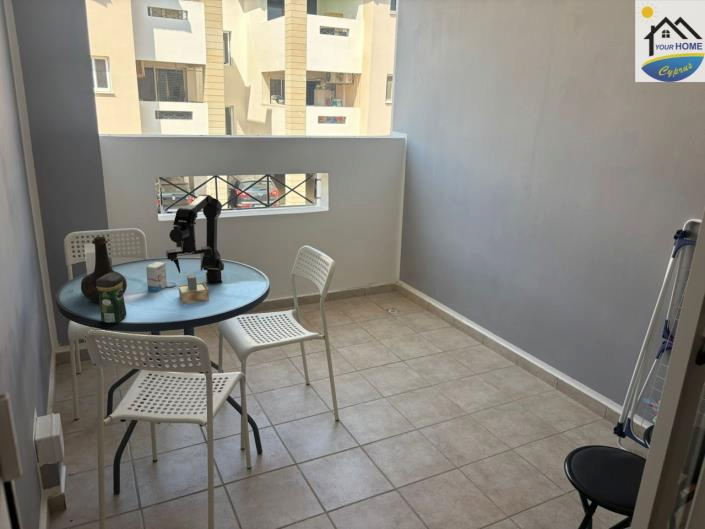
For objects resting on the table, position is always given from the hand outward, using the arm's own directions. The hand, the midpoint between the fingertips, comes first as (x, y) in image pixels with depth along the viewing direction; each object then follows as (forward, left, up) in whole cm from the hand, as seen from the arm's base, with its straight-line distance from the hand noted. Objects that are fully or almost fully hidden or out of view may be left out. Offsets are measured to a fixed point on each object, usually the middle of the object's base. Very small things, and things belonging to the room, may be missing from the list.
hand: (190, 271), depth 224 cm
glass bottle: (+34, -13, -13) cm, 39 cm away
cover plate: (0, 0, -8) cm, 9 cm away
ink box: (+12, -19, -13) cm, 26 cm away
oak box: (-1, 0, -12) cm, 13 cm away
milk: (+37, -27, -13) cm, 48 cm away
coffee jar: (+32, +11, -13) cm, 36 cm away
